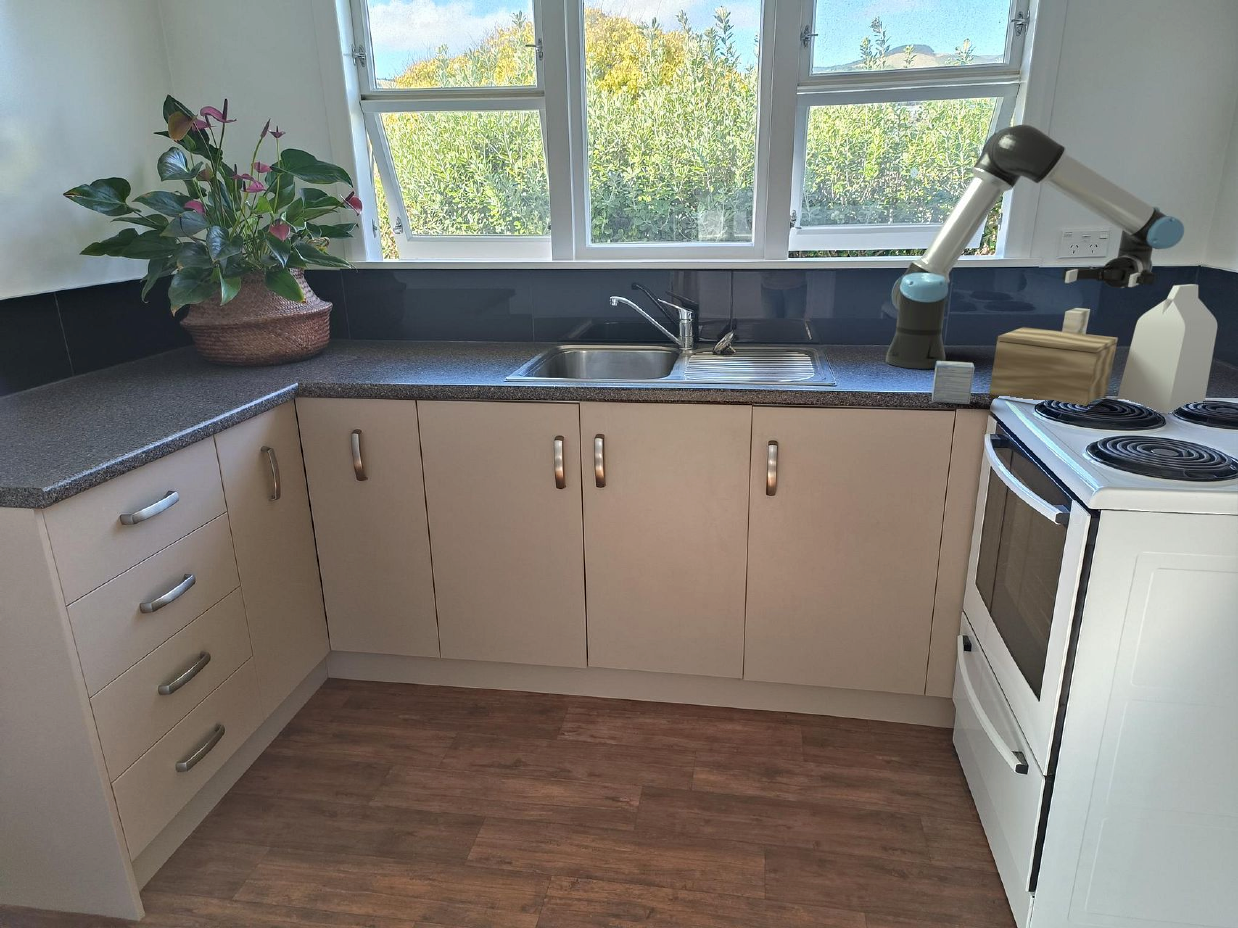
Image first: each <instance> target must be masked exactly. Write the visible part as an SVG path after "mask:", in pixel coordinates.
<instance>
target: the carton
mask: <svg viewBox="0 0 1238 928" xmlns="http://www.w3.org/2000/svg"><path fill="white" fill-rule="evenodd" d="M1117 343H1118V342H1116V343H1115V344H1113V345H1111V346H1109V347H1107V348H1105V349H1103V350H1101V351H1099V352H1097V353H1094V352H1086V351H1078V350H1070V349H1061V348H1053V347H1045V346H1037V345H1028V344H1020V343H1012V342H1004V341H997V340H996V347H995V352H994V353H995V354H994V358H993V359H994V361H993V366H992V372H991V379H990V384H989V385H990V387H989V393H988V398H992V399H997V398H998V397H999V396H1010V397H1016V398H1023V399H1033V400H1045V401H1046V400H1054V401H1059V402H1065V403H1071V404H1079V405H1083V406H1087V405H1088V404H1090V402H1092V401H1093V400H1094V399H1099V398H1106V399H1107V393H1108V390H1109V385H1110V379H1111V374H1112V369H1113V364H1114V359H1115V354H1116V349H1117V345H1118V344H1117Z"/></svg>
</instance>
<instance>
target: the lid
mask: <svg viewBox="0 0 1238 928" xmlns="http://www.w3.org/2000/svg"><path fill="white" fill-rule="evenodd" d="M1090 312H1091V309H1090V308H1089V309H1088V308H1083V307H1082V308H1079V307H1076V308H1075V307H1074V308H1072V309H1070V310H1067V311H1065V312H1064V320H1063V323H1062V330H1061V331H1059V330H1052V329H1051V330H1050V329H1049V330H1048V329H1042V328H1032V327H1020V328H1018V329H1014V330H1012V331H1009V332H1006V333H1003V334H1000V335H998V336H997V339H996V342H997V341H1004V342H1012V343H1020V344H1028V345H1037V346H1045V347H1053V348H1061V349H1070V350H1078V351H1086V352H1094V353H1097V352H1099V351H1101V350H1103V349H1105V348H1107V347H1109V346H1111V345H1113V344H1115V343H1118V339H1119V338H1118V337H1113V336H1106V335H1105V336H1104V335H1095V334H1086V333H1087V327H1088V325H1089V324H1088V323H1089V318H1090Z"/></svg>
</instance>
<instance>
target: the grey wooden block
mask: <svg viewBox="0 0 1238 928" xmlns="http://www.w3.org/2000/svg"><path fill="white" fill-rule="evenodd" d="M974 373H975V365H974V363H973V362H965V361H947V360H945V361H936V367H935V368H934V376H933V384H932V391H931V392H932V393H931V401H932V403H945V404H946V403H947V404H959V405H960V404H962V405H970V404H971V395H972V388H973V381H974V375H975V374H974Z"/></svg>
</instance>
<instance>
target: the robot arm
mask: <svg viewBox="0 0 1238 928" xmlns="http://www.w3.org/2000/svg"><path fill="white" fill-rule="evenodd" d="M971 170H972V173H973V174H972V176H973V177H972V179H971V181H970V182H969V184H968V185H967V187H966V188H965V190H964V191H963V193H962V195H961V196H960V197H959V199H958V200H957V201H956V203H955V205H954V206H953V208H952V210H951V211H950V212H949V215H947V217H946V219H945V221H944V222H943V224H942V225H941V226H940V228H939V230H937V232H936V234H935V236H934V238H933V239H932V241H931V242H930V244H929V245H928V247H927V248H926V250H925V251H924V253H923V255H922V256H921V257H920V258H918V259H916V260H912V261H911V263H910V265H909V266H908V268H907V269H906V270H905V272H904V273H903V274H902V276H900V277H899V278H898V279H897V280H896V281H895V283H894V284H893V287H892V289H891V301H892V304H893V306H894V308H895V309H896V310H897V317H896V318H897V319H896V326H895V327H896V328H895V334H894V337H893V339H892V341H891V344H890V346H889V348H888V350H887V352H886V357H885V362H886V363H887V364H889V365H892V366H895V367H901V368H908V369H918V370H919V369H921V370H922V369H923V370H927V369H928V370H929V369H935V367H936V361H946V352H945V347H944V343H943V338H942V333H943V324H944V319H945V318H944V317H945V311H946V303H947V296H948V293H949V287H948V286H949V284H950V282H951V281H950V276H949V273H950V272H951V271H952V269H953V268H954V266H955V264H956V263H957V261H958V260H959V259H960V258H961V256H962V254H963V253H964V251H965V250H966V248H967V247H968V245H969V244H970V242H971V240H972V239H973V238H974V236H975V235H976V233H977V231H978V230H979V228H980V227H981V226H982V224H983V223H984V221H985V219H986V218H987V217H988V215H989V213H990V212H991V211H992V209H993V208H994V206H996V203H997V202H998V200H999V199H1000V197H1001V196H1002V194H1003V193H1004V192H1007V191H1010V190H1013V188H1014V187H1015V185H1016V184H1017V183H1018V181H1019V180H1020V178H1021V177H1024V178H1026V179H1029V180H1031V181H1032V182H1034V183H1035V184H1037V185H1039V184H1043V183H1044V184H1046V185H1047V186H1049V187H1050V188H1052V189H1054V190H1056V191H1057V192H1059V193H1061V194H1063V195H1064V196H1066V197H1067V198H1069V199H1070V200H1072V201H1074V202H1076V203H1078V204H1079V205H1081V206H1083V207H1084V208H1086V209H1087V210H1089V211H1090V212H1092V213H1094V214H1095V215H1098V216H1099V217H1100V218H1102V219H1104V220H1106V221H1107V222H1109V223H1110V224H1112V225H1114V226H1115V227H1117V228H1119V229H1121V230H1122V231H1121V236H1120V243H1119V248H1118V253H1117V257H1116V258H1113V259H1111V260H1109V261H1107V263H1106V264H1105V265H1103V266H1095V267H1093V266H1085V267H1072V268H1071V267H1070V268H1069V267H1068V268H1063V270H1062V275H1061V279H1062V280H1064V283H1065V284H1070V283H1073V282H1076V281H1078V280H1093V281H1095V282H1096V281H1097V282H1103V283H1104V284H1105V285H1107V286H1108V287H1111V288H1114V289H1123V288H1125V287H1128V288H1133V287H1136V286H1138V285H1146V284H1148V285H1150V286H1154V285H1155V283H1156V278H1157V273H1154V272H1152V269H1153V262H1152V253H1153V249H1155V250H1164V249H1165V250H1167V249H1171V248H1173V247H1175V246H1176V245H1177V244H1179V243H1180V242H1181V240H1182V239H1183V237H1184V233H1185V226H1184V224H1183V222H1182V221H1181V220H1180V219H1179V218H1176V217H1174V216H1170V215H1167V214H1164V213H1162V211H1160V210H1161V209H1160V208H1159V207H1157V206H1151V205H1150V204H1148V203H1147V202H1145V201H1144V200H1142V199H1140V198H1139V197H1137V196H1136V195H1133V194H1131V193H1130V192H1128V191H1127V190H1125V189H1124V188H1122V187H1121V186H1120V185H1117V184H1116V183H1114V182H1112V181H1111V180H1109V179H1107V178H1105V177H1104V176H1103V175H1101V174H1099V173H1097V172H1096V171H1094V170H1093V169H1092V168H1089V167H1088V166H1087V165H1085V164H1083V163H1082V162H1080V161H1078V160H1076V159H1074V157H1071V156H1070V155H1068V154H1067V149H1066V147H1065V146H1063V145H1062V144H1060V143H1058V142H1057V141H1056V140H1054V139H1052V138H1051V137H1050V136H1048V135H1047V134H1045V133H1044V132H1042V131H1041V130H1040V129H1039V128H1036V127H1034V126H1032V125H1030V124H1029V125H1027V124H1018V125H1017V124H1016V125H1014V126H1007V127H1003V128H1000V129H999V130H997V131H995V132H994V133H993V134H992V135H990V136H989V137H988V139H987V140H986V141H985V143H984V144H983V147H982V150H981V154H980V155H979V157H978V158H977V160H976V162H975V164H974V165H973V167H972V169H971Z"/></svg>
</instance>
